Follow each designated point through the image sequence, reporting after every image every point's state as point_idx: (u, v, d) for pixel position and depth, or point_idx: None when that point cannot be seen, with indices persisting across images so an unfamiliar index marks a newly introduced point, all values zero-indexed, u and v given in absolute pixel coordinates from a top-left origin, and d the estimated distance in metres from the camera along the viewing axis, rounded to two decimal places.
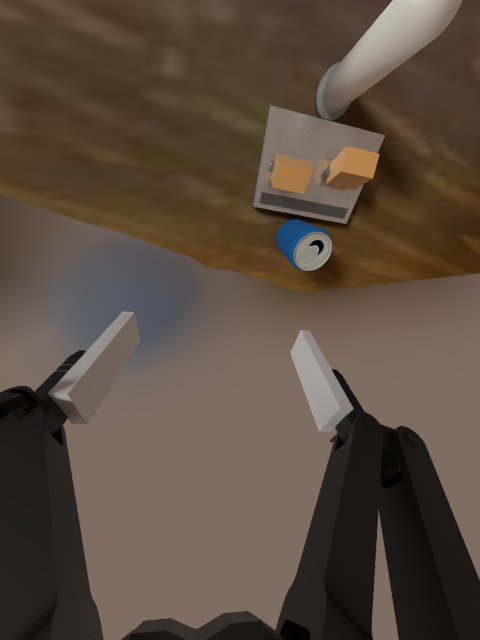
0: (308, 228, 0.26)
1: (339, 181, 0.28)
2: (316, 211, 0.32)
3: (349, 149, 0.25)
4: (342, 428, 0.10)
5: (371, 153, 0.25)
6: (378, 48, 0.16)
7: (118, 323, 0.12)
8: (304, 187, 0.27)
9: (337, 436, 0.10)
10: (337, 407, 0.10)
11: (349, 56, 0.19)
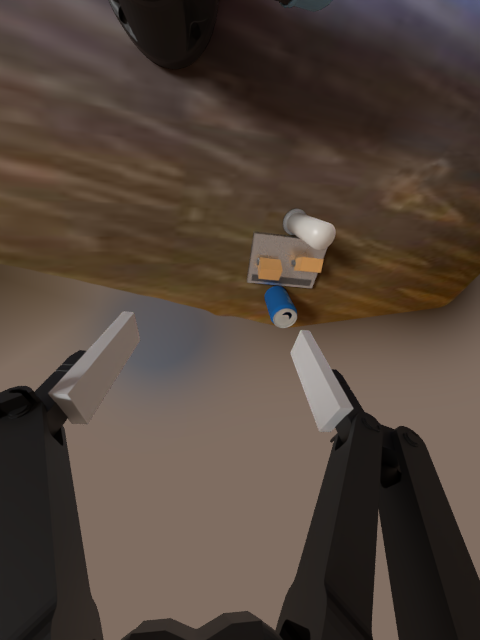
0: (281, 305, 0.42)
1: None
2: (290, 283, 0.48)
3: (304, 258, 0.40)
4: (342, 428, 0.10)
5: (318, 259, 0.40)
6: (304, 240, 0.31)
7: (118, 323, 0.12)
8: (278, 277, 0.42)
9: (337, 436, 0.10)
10: (337, 407, 0.10)
11: (295, 224, 0.35)
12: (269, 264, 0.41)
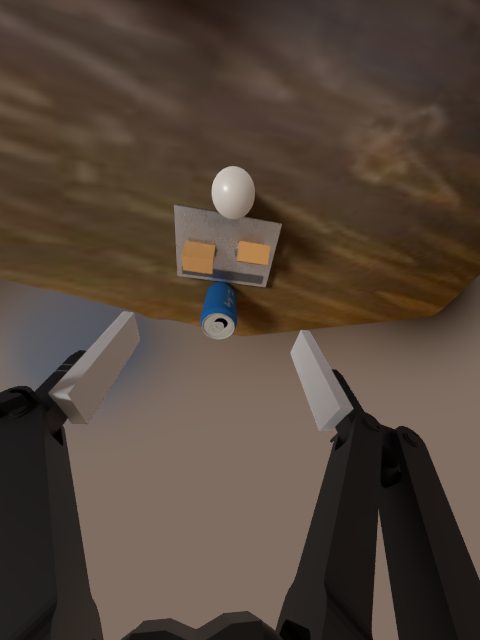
0: (212, 307, 0.30)
1: (244, 262, 0.32)
2: (235, 279, 0.36)
3: (242, 243, 0.28)
4: (342, 428, 0.10)
5: (263, 245, 0.29)
6: None
7: (118, 323, 0.12)
8: (210, 270, 0.31)
9: (337, 436, 0.10)
10: (337, 407, 0.10)
11: None
12: (196, 250, 0.30)
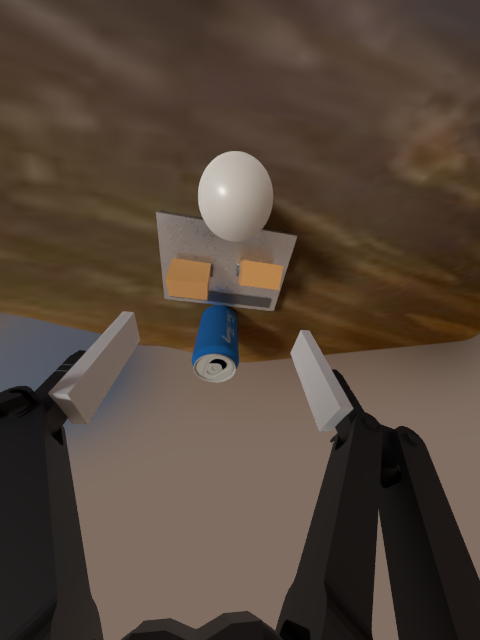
0: (206, 345, 0.23)
1: None
2: (236, 302, 0.29)
3: (246, 262, 0.21)
4: (342, 428, 0.10)
5: (273, 265, 0.22)
6: None
7: (118, 323, 0.12)
8: (205, 296, 0.24)
9: (337, 436, 0.10)
10: (337, 407, 0.10)
11: None
12: (185, 271, 0.23)
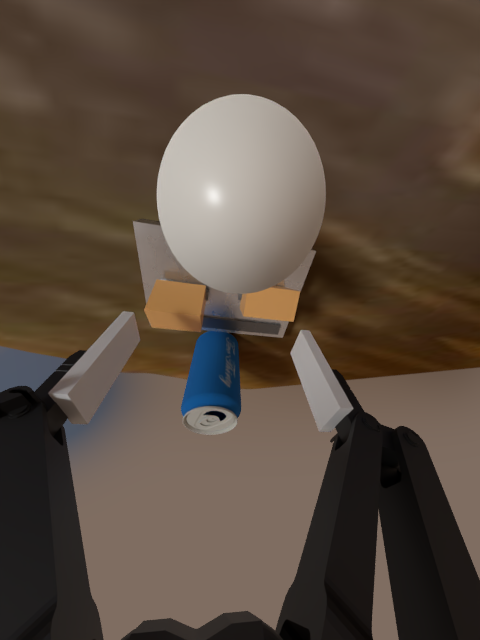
0: (200, 393, 0.18)
1: None
2: (238, 328, 0.24)
3: None
4: (342, 428, 0.10)
5: (287, 291, 0.17)
6: None
7: (118, 323, 0.12)
8: (197, 328, 0.18)
9: (337, 436, 0.10)
10: (337, 407, 0.10)
11: None
12: (172, 297, 0.17)
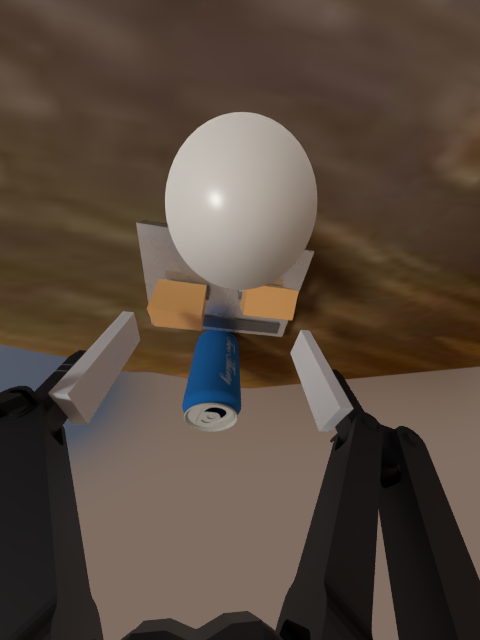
0: (200, 390, 0.18)
1: None
2: (238, 327, 0.24)
3: None
4: (342, 428, 0.10)
5: (286, 290, 0.17)
6: None
7: (118, 323, 0.12)
8: (198, 326, 0.19)
9: (337, 436, 0.10)
10: (337, 407, 0.10)
11: None
12: (174, 296, 0.18)
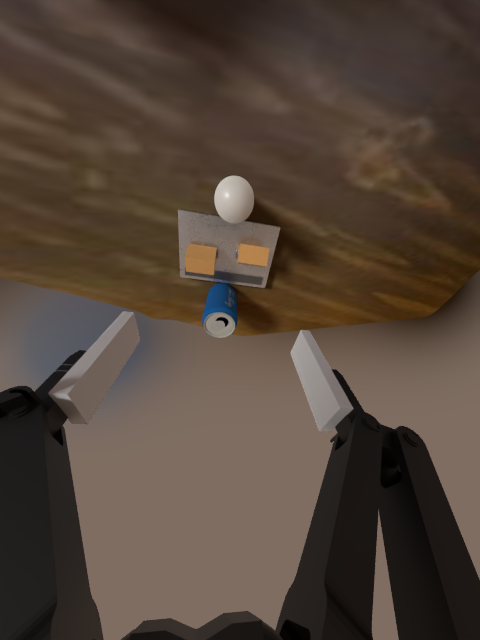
0: (213, 307, 0.31)
1: None
2: (235, 280, 0.37)
3: (242, 245, 0.30)
4: (342, 428, 0.10)
5: (262, 248, 0.30)
6: None
7: (118, 323, 0.12)
8: (212, 271, 0.32)
9: (337, 436, 0.10)
10: (337, 407, 0.10)
11: None
12: (198, 252, 0.31)
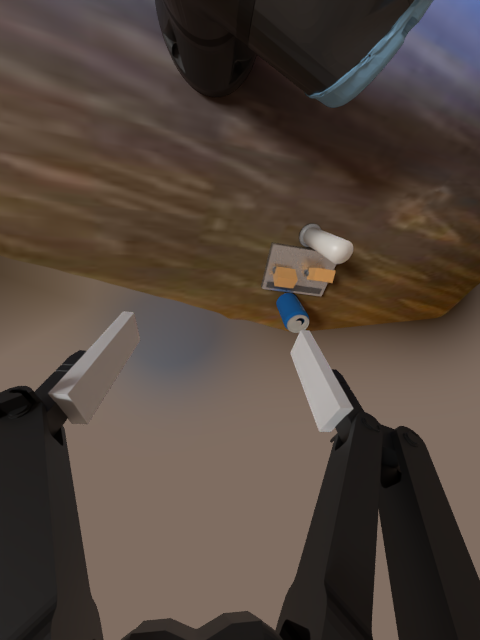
0: (295, 311, 0.45)
1: (314, 280, 0.47)
2: (301, 290, 0.51)
3: (318, 269, 0.44)
4: (342, 428, 0.10)
5: (330, 270, 0.44)
6: (323, 254, 0.35)
7: (118, 323, 0.12)
8: (293, 286, 0.46)
9: (337, 436, 0.10)
10: (337, 407, 0.10)
11: (313, 239, 0.38)
12: (285, 273, 0.45)
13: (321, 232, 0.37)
